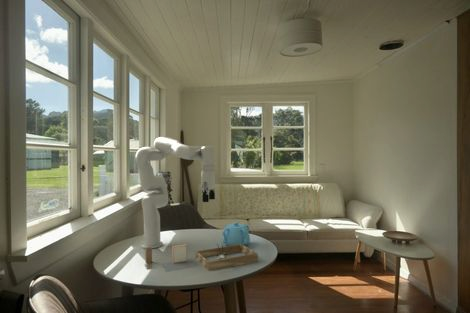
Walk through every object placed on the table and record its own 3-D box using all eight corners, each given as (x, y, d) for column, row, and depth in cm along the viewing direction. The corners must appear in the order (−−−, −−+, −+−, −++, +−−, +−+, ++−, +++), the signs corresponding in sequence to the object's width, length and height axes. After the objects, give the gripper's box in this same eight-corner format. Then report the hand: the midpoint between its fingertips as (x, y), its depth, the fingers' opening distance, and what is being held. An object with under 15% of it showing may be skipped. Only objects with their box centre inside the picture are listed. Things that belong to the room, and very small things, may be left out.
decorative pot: (252, 242, 180) (252, 220, 180) (246, 250, 165) (245, 225, 165) (227, 240, 185) (227, 219, 185) (219, 248, 169) (218, 224, 170)
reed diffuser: (213, 256, 140) (218, 238, 160) (209, 268, 141) (215, 250, 161) (233, 262, 140) (236, 243, 160) (229, 274, 141) (232, 255, 161)
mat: (160, 264, 144) (160, 263, 144) (191, 259, 151) (191, 258, 151) (166, 273, 134) (166, 271, 134) (199, 266, 141) (199, 265, 141)
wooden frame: (195, 259, 151) (195, 251, 151) (241, 251, 163) (241, 243, 163) (208, 271, 135) (207, 262, 135) (257, 261, 146) (257, 253, 146)
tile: (172, 262, 146) (172, 246, 146) (186, 260, 149) (185, 244, 149) (173, 263, 144) (172, 247, 144) (187, 261, 147) (186, 245, 147)
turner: (143, 263, 147) (142, 247, 147) (153, 261, 149) (153, 246, 149) (146, 271, 137) (146, 254, 137) (157, 269, 139) (157, 252, 139)
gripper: (207, 168, 166) (208, 198, 166) (195, 169, 150) (196, 203, 150) (219, 168, 164) (220, 198, 164) (209, 169, 148) (209, 203, 148)
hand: (208, 200), depth 157 cm, fingers open, 9 cm apart
